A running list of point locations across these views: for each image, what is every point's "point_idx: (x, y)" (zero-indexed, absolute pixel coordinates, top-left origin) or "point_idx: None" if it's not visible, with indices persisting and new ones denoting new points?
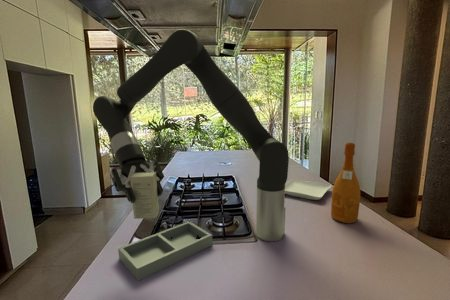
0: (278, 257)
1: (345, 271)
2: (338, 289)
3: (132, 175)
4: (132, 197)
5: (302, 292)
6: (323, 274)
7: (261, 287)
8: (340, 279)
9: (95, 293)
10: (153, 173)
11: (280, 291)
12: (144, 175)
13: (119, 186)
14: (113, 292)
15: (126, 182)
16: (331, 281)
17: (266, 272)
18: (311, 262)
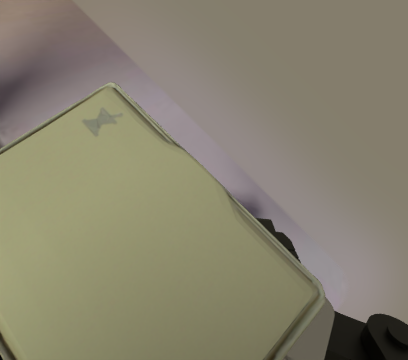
0: (30, 82)
1: (21, 11)
2: (67, 9)
3: (269, 335)
4: (272, 228)
5: (97, 32)
6: (43, 26)
7: (120, 68)
8: (44, 11)
9: (318, 251)
10: (6, 160)
11: (112, 50)
12: (147, 174)
13: (402, 323)
14: (290, 227)
15: (324, 345)
16: (54, 17)
17: (83, 78)
18: (19, 44)
